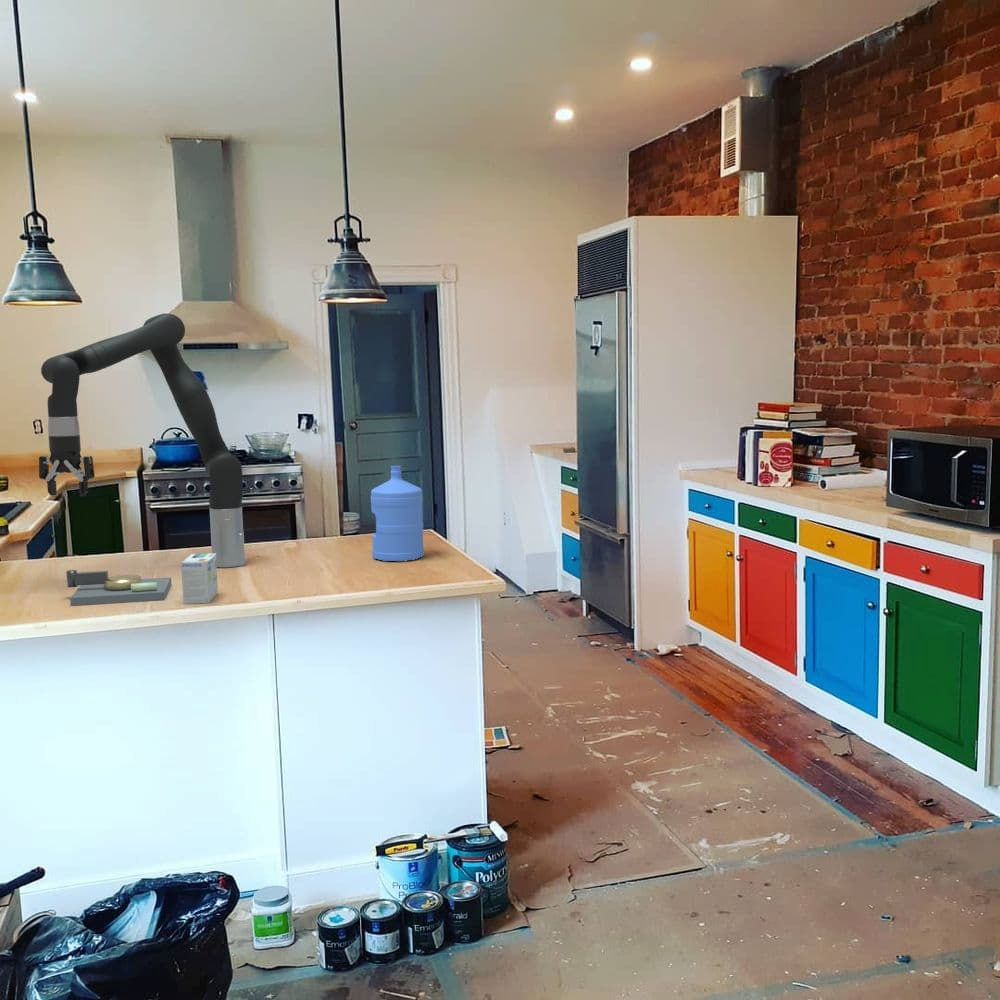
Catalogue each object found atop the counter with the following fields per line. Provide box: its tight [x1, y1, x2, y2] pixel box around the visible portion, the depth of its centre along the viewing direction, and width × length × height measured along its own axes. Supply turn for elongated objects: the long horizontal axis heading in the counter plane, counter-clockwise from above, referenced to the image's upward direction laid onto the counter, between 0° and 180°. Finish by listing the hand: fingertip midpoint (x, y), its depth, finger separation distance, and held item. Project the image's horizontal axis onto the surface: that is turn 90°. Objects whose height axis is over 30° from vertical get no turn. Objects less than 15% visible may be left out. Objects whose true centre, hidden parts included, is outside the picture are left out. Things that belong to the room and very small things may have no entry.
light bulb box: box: [180, 552, 219, 605], centre depth 244 cm, size 11×7×11 cm, turn 5°
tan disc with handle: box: [66, 569, 142, 590], centre depth 248 cm, size 18×9×5 cm, turn 103°
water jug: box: [370, 465, 425, 562], centre depth 293 cm, size 16×16×28 cm
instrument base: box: [69, 576, 172, 607], centre depth 250 cm, size 22×18×4 cm
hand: (68, 495), depth 255 cm, fingers open, 8 cm apart
